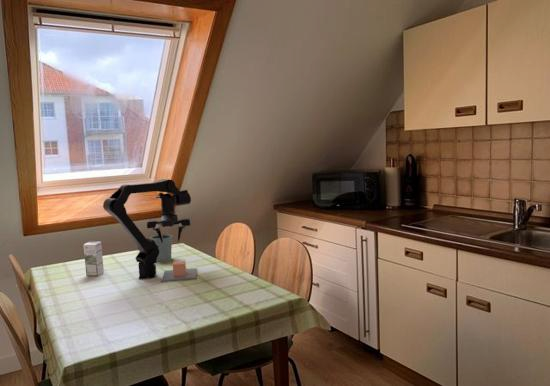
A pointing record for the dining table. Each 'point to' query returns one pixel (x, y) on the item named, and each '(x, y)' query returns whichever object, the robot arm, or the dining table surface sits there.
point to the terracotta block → (179, 268)
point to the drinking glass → (163, 247)
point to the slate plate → (169, 276)
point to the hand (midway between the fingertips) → (170, 241)
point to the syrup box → (93, 258)
